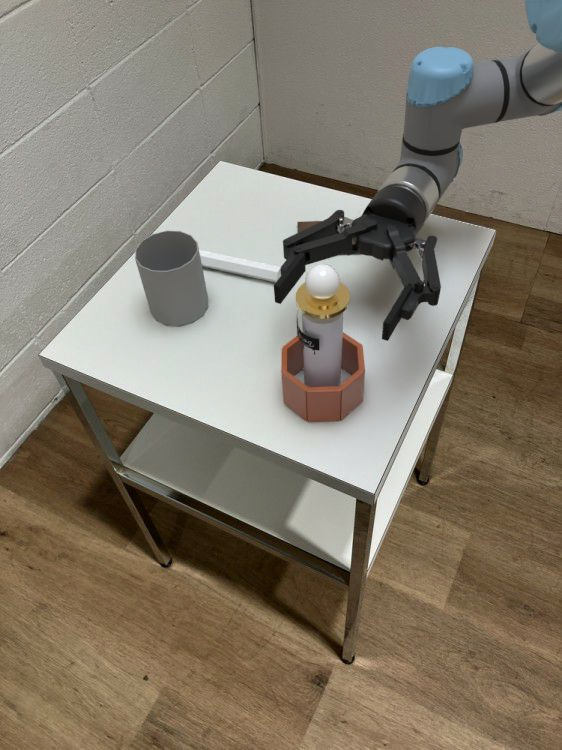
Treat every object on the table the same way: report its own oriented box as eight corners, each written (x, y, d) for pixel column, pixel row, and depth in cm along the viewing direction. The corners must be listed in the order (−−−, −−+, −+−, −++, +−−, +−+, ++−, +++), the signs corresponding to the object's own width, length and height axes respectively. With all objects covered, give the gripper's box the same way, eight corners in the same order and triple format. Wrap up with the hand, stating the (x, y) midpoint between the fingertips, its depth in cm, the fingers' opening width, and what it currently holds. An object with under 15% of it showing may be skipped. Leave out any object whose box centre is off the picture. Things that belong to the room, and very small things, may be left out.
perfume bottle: (327, 365, 83) (328, 242, 67) (354, 394, 79) (362, 272, 64) (290, 385, 81) (283, 264, 65) (317, 415, 78) (316, 295, 62)
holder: (359, 359, 83) (361, 327, 78) (364, 420, 77) (367, 390, 72) (284, 361, 83) (281, 329, 79) (283, 422, 77) (280, 392, 73)
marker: (184, 262, 98) (281, 281, 94) (177, 264, 96) (276, 284, 92) (185, 245, 97) (283, 264, 93) (178, 247, 95) (278, 266, 91)
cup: (220, 297, 92) (210, 242, 84) (185, 334, 87) (171, 279, 80) (174, 278, 95) (161, 223, 87) (138, 312, 91) (121, 258, 83)
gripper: (488, 258, 82) (430, 371, 71) (315, 209, 91) (238, 303, 79) (500, 209, 76) (440, 323, 65) (314, 162, 85) (232, 256, 73)
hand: (329, 312), depth 72 cm, fingers open, 13 cm apart
